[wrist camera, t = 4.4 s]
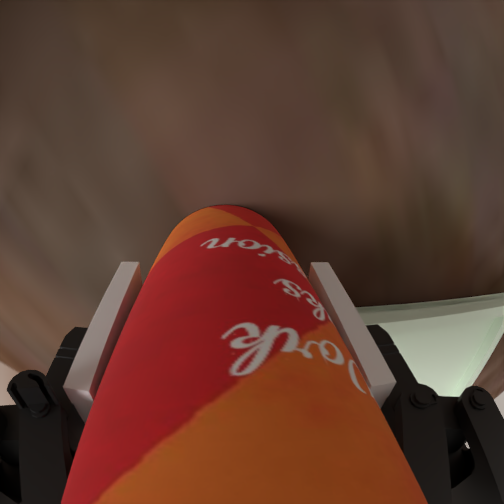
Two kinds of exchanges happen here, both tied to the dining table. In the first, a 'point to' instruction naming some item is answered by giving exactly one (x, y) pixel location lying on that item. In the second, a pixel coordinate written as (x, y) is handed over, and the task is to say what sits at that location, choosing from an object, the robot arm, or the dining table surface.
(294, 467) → the coffee cup
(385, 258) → the dining table surface
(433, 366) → the tray
